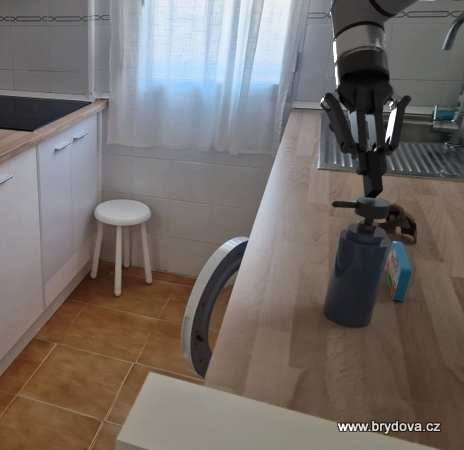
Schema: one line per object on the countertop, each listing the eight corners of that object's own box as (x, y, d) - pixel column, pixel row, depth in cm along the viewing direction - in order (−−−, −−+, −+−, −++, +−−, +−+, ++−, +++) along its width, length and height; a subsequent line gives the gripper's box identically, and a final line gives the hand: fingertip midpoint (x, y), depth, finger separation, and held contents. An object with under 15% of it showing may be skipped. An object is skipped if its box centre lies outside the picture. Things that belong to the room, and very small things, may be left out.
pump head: (378, 217, 83) (383, 196, 81) (390, 229, 79) (395, 207, 77) (324, 215, 84) (328, 194, 82) (332, 226, 80) (337, 204, 78)
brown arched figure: (422, 252, 109) (411, 220, 106) (371, 261, 115) (358, 231, 112) (418, 218, 118) (407, 188, 115) (370, 228, 124) (359, 199, 121)
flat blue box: (385, 270, 102) (392, 240, 99) (394, 271, 101) (402, 241, 99) (392, 300, 91) (401, 268, 89) (402, 302, 91) (412, 270, 88)
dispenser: (361, 306, 90) (384, 215, 84) (377, 329, 84) (403, 233, 77) (317, 302, 91) (336, 212, 85) (329, 326, 85) (351, 230, 78)
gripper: (393, 77, 90) (409, 207, 82) (311, 75, 92) (318, 201, 84) (415, 47, 83) (435, 185, 75) (326, 46, 85) (335, 180, 77)
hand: (373, 193), depth 79 cm, fingers closed
